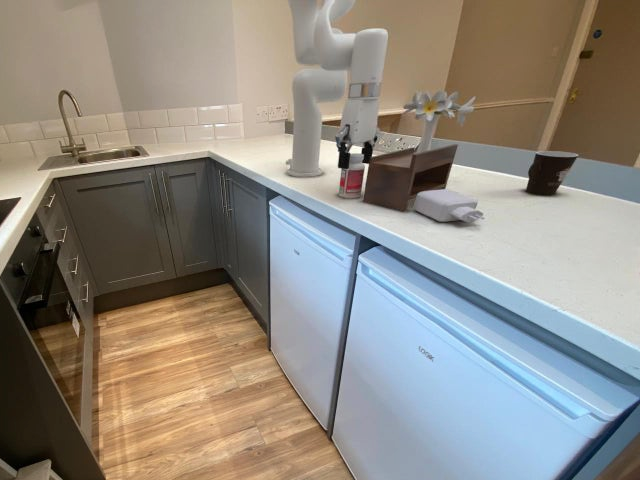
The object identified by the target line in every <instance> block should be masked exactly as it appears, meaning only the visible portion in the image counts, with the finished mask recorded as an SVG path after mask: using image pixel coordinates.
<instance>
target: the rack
mask: <svg viewBox="0 0 640 480" xmlns="http://www.w3.org/2000/svg"><path fill="white" fill-rule="evenodd" d="M458 147H459V144H457V143H453V144H449V145H445V146H441V147H438V148H437V147H436V148H432V149H430V150H429V151H425V152H421V153H417V151H416V152H415V149H416V147H414V146H412V147H407V148H403V149H398V150H395V151H390V152H386V153H381V154H377V155H372V157H370V160H369V164H368V166H367V173H366V178H365V186H364V192H363V197H362V202H364V203H367V204H371V205H375V206H379V207H383V208H387V209H391V210H395V211H400V212H406V211H407V209H408V206H409V205H408V204H409V202H410V201H412V200H414V199H416V196H417V194H418V193H420V192H423V191H432V190H441V189H447V184H448V181H449V178H450V174H451V171H452V168H453V164H454V161H455V158H456V154H457V151H458Z"/></svg>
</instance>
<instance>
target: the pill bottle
mask: <svg viewBox="0 0 640 480" xmlns="http://www.w3.org/2000/svg"><path fill="white" fill-rule="evenodd" d="M363 159H364V154H361V153H359V152H358V153H355V152H354V153H350V162H349V168H348V169H341V168H340V176H339V177H340V178H339V186H338V196H339V197H341V198H345V199H357V198H359V197H361V195H362V189H363V182H364V175H365V170H366V169H365V168H366V164H365V163H362V161H363Z"/></svg>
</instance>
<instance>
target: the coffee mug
mask: <svg viewBox="0 0 640 480" xmlns="http://www.w3.org/2000/svg"><path fill="white" fill-rule="evenodd" d="M561 155H564V156H561ZM568 156H569V157H568ZM578 157H579V154H578V153H574V152H569V151H558V150H542V151H541V150H540V151H536V152H535V155H534V159H533V162H532V164H531V165H530V167H529V168H528V172H527V175H528V176H527V177H528V181H527V184H526V189H525V192H526V193H527V194H530V195H535V196H540V197H541V196H543V197H551V196H555V195H556V194H557V191H558V189H559V188H560V186H561V185H562V184H563V181H564V180H565V179H566V177H567V175H568V173H569V172H570V170H571V169H572V167H573V166H574V163H575V162H576V160H577V159H578Z"/></svg>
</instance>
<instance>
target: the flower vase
mask: <svg viewBox="0 0 640 480" xmlns="http://www.w3.org/2000/svg"><path fill="white" fill-rule="evenodd" d="M458 97H459V92H457V91H455V92H452V93H451V94H450V95H449V96H448V94H447V91H446V90H445V91H444V90H439V91H436V92H435V93H434V94H433V96H432V97H431V95H430V92H429V91H425V92H424V93H422V92H419V91H418V90H416V91H415V92H414V94H413V96H412V101H409V102H407V103H405V105H403V108H402V109H404V110H405V111H403V113H402V114H401V115H400V117H401V118H402V117H404V116H405V115H407V114H409V113H410V112H413V111H414V110H415V111H414V114H415V117H414V119H415V120H420V119H421V118H422V117H423V127H422V132H421V137H420V141H419V144H418V147H417V149H416V152H417V153H421V152H425V151H429V150H431V147H432V141H433V136H434V132H435V129H436V126H437V123H438V121H439V119H440V118H441V116H442V113H443V114H444V116H445V117H446V118H449V119H452V117H453V118H455V117H456V115H455V112H457V122H456V124H457V125H458V124H460V127H463V126H464V124H465V123H466V116H467V115H470V114H472V113H473V111H474V110H475V108H474V106H471V105H472V104H473V102H474V101H475V99H476V96H473V97H472V98H471V99H470V100H469V101H468V102H466V103H465V104H464V105H462V106H461V105H460V104H458V103H455V102H456V100H457V99H458ZM454 111H455V112H454Z"/></svg>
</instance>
